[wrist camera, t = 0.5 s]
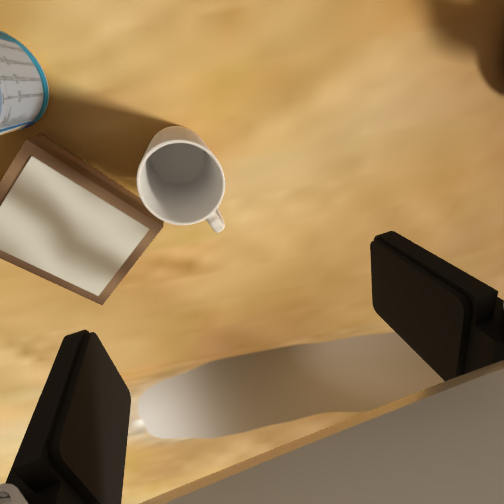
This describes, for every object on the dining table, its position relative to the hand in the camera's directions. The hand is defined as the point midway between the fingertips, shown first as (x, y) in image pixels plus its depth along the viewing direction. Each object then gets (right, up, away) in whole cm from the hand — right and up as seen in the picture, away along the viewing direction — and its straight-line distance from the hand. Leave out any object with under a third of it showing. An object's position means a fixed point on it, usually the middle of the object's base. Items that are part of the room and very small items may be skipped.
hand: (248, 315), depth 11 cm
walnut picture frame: (-19, +6, +26) cm, 33 cm away
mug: (-7, +12, +26) cm, 29 cm away
